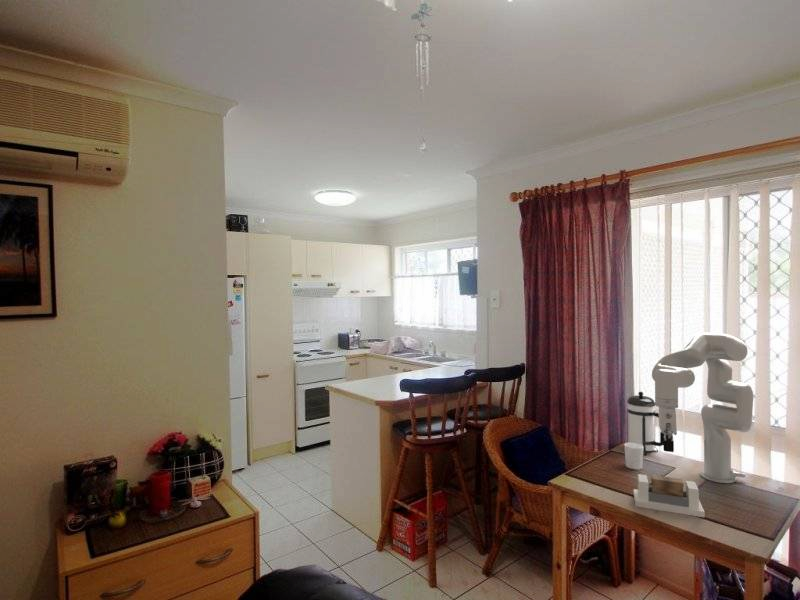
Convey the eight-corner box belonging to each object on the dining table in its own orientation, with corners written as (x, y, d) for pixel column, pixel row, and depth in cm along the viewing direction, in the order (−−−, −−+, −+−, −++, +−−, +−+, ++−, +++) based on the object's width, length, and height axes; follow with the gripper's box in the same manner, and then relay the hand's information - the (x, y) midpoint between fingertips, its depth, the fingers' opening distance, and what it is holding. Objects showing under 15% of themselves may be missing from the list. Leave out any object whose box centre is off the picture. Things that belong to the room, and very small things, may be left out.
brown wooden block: (681, 499, 169) (681, 478, 169) (683, 504, 166) (683, 483, 165) (651, 495, 173) (651, 474, 173) (652, 499, 170) (652, 478, 169)
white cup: (620, 465, 208) (620, 444, 208) (632, 462, 211) (632, 441, 211) (635, 471, 201) (635, 449, 200) (647, 468, 204) (647, 446, 204)
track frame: (698, 503, 170) (698, 480, 170) (704, 517, 160) (704, 492, 160) (633, 493, 179) (633, 471, 179) (635, 506, 169) (635, 482, 169)
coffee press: (626, 454, 221) (626, 394, 220) (623, 444, 236) (623, 387, 235) (666, 458, 215) (666, 396, 214) (660, 447, 230) (660, 389, 229)
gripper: (681, 408, 159) (682, 456, 160) (674, 397, 175) (674, 440, 175) (657, 407, 162) (658, 453, 163) (652, 396, 178) (653, 438, 179)
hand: (666, 446), depth 169 cm, fingers open, 9 cm apart
